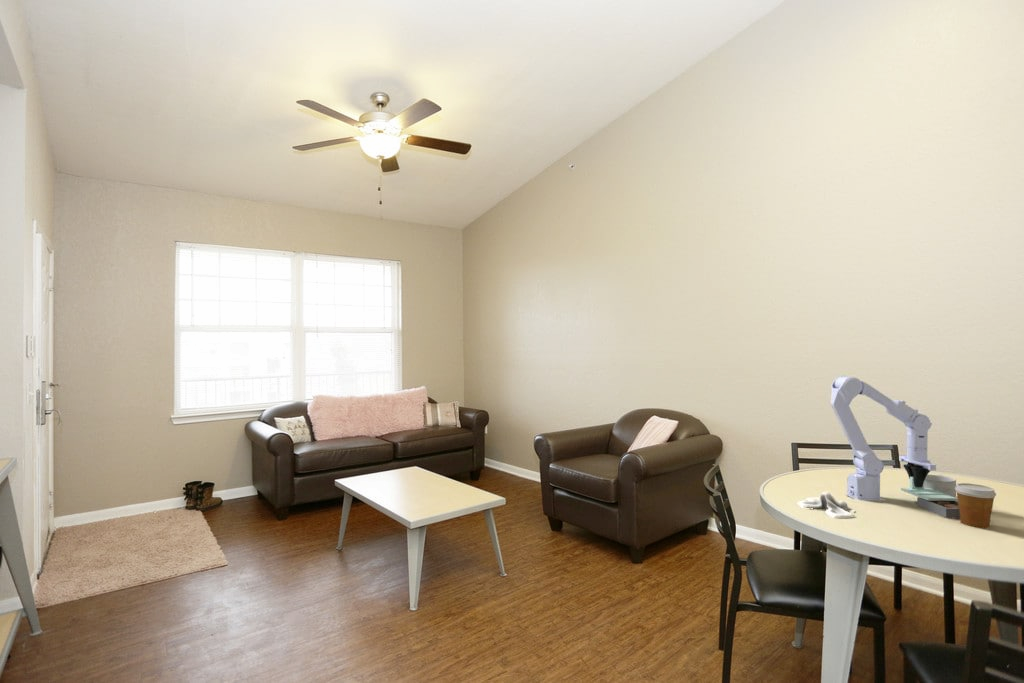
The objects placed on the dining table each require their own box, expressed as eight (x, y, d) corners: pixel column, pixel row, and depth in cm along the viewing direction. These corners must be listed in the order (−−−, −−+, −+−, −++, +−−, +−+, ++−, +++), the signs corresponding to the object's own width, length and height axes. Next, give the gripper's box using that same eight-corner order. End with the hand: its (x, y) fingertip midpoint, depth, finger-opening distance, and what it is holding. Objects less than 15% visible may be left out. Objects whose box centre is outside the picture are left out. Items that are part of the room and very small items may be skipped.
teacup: (949, 506, 181) (949, 482, 181) (911, 497, 190) (912, 475, 190) (964, 499, 188) (964, 477, 188) (928, 492, 198) (928, 470, 198)
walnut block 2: (954, 516, 168) (954, 508, 168) (944, 513, 171) (944, 504, 171) (964, 516, 168) (964, 507, 168) (953, 512, 172) (953, 504, 172)
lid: (958, 500, 174) (958, 486, 174) (927, 500, 174) (927, 485, 174) (929, 490, 186) (929, 476, 186) (901, 490, 186) (901, 476, 186)
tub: (977, 520, 166) (978, 509, 166) (945, 519, 167) (946, 508, 167) (946, 508, 178) (947, 497, 178) (917, 507, 179) (917, 497, 179)
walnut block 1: (937, 510, 174) (937, 501, 174) (932, 507, 177) (932, 498, 177) (950, 511, 173) (950, 502, 173) (944, 508, 177) (944, 499, 177)
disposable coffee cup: (954, 519, 167) (954, 481, 167) (994, 525, 161) (995, 486, 161) (954, 527, 160) (954, 487, 160) (997, 534, 154) (997, 493, 154)
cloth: (850, 524, 164) (851, 504, 163) (787, 509, 177) (787, 491, 177) (871, 509, 178) (871, 491, 178) (811, 497, 192) (811, 480, 192)
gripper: (945, 451, 178) (944, 492, 178) (913, 443, 193) (912, 480, 193) (924, 451, 178) (923, 492, 178) (893, 443, 193) (893, 480, 193)
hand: (916, 486), depth 185 cm, fingers closed on lid
